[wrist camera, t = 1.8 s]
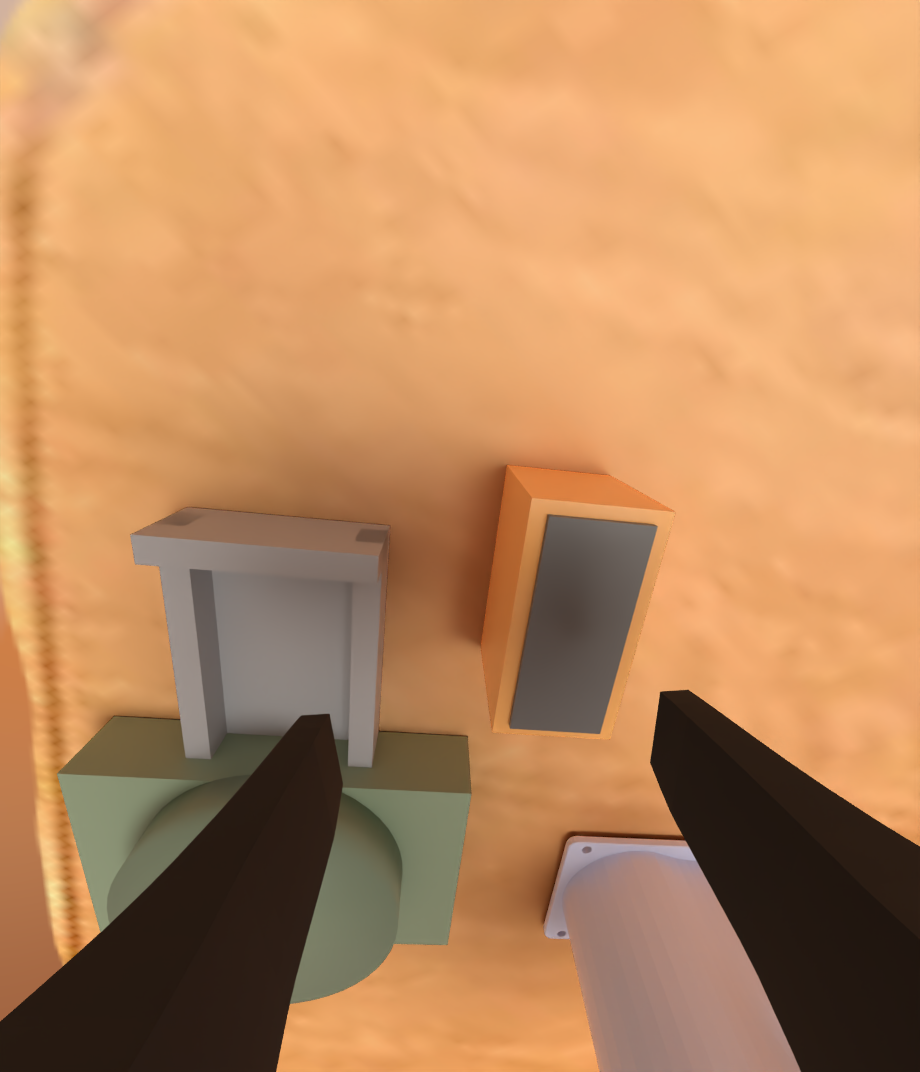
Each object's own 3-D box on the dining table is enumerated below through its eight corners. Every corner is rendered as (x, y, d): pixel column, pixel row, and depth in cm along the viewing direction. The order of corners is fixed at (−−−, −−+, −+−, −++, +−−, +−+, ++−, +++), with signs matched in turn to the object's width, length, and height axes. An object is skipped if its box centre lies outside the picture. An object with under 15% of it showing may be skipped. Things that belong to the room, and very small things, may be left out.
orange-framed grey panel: (609, 475, 16) (679, 514, 11) (569, 651, 19) (612, 744, 14) (506, 464, 16) (533, 500, 11) (480, 644, 19) (492, 737, 14)
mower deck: (496, 535, 17) (517, 594, 12) (446, 883, 24) (446, 1007, 19) (69, 496, 16) (-91, 544, 11) (146, 873, 23) (67, 1002, 18)
